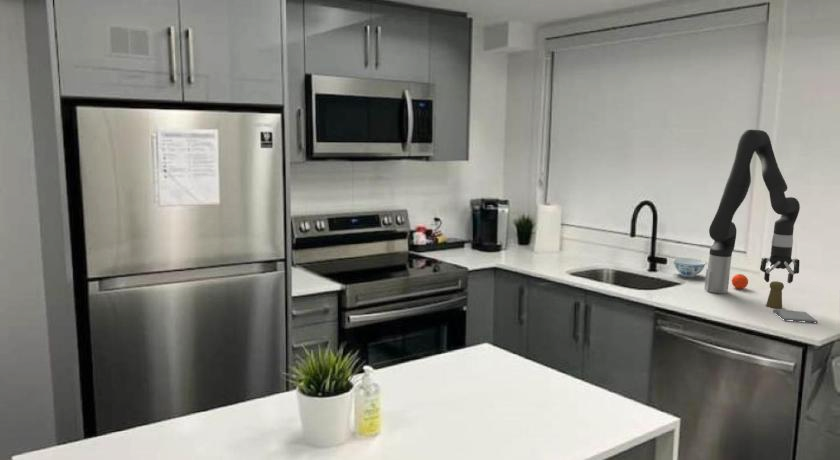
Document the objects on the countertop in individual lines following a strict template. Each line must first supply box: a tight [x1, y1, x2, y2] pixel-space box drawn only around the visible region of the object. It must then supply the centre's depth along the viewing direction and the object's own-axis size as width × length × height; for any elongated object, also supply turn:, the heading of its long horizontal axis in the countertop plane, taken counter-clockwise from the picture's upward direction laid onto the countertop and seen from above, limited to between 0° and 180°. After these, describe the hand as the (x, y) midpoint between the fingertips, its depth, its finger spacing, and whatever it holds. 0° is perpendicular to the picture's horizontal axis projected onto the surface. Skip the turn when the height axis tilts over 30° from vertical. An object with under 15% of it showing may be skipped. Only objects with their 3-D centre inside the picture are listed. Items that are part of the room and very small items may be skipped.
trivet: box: [772, 309, 818, 324], centre depth 244 cm, size 12×12×1 cm
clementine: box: [731, 273, 749, 290], centre depth 286 cm, size 8×7×7 cm
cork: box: [765, 280, 785, 310], centre depth 257 cm, size 6×6×11 cm
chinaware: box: [672, 257, 707, 278], centre depth 308 cm, size 15×15×8 cm
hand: (778, 282), depth 256 cm, fingers open, 8 cm apart
